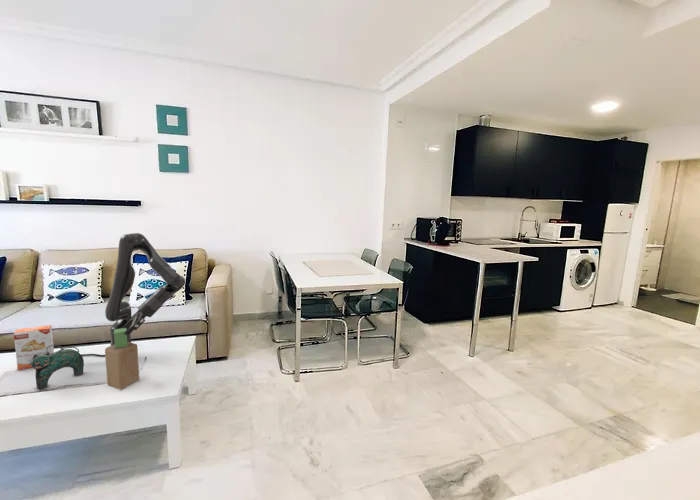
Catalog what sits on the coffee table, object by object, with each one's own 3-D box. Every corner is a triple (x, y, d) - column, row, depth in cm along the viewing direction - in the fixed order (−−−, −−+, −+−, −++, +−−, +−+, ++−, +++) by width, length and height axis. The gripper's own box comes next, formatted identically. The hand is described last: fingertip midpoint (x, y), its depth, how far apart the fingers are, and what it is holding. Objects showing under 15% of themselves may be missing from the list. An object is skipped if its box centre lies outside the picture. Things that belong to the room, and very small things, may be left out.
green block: (115, 344, 163) (114, 329, 162) (127, 342, 166) (126, 327, 165) (115, 348, 159) (113, 333, 158) (127, 346, 162) (126, 331, 161)
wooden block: (140, 380, 169) (138, 343, 166) (121, 390, 159) (118, 352, 156) (126, 375, 172) (123, 339, 169) (106, 385, 163) (103, 348, 159)
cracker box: (17, 371, 171) (12, 333, 168) (20, 365, 176) (16, 328, 173) (53, 364, 179) (49, 328, 176) (55, 359, 184) (51, 324, 181)
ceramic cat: (35, 392, 155) (31, 353, 151) (30, 388, 158) (26, 349, 155) (86, 374, 171) (83, 338, 168) (80, 370, 175) (77, 335, 171)
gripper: (144, 297, 171) (118, 322, 166) (146, 305, 160) (118, 332, 155) (156, 305, 175) (131, 330, 170) (159, 314, 163) (132, 340, 159)
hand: (125, 331), depth 162 cm, fingers open, 8 cm apart
